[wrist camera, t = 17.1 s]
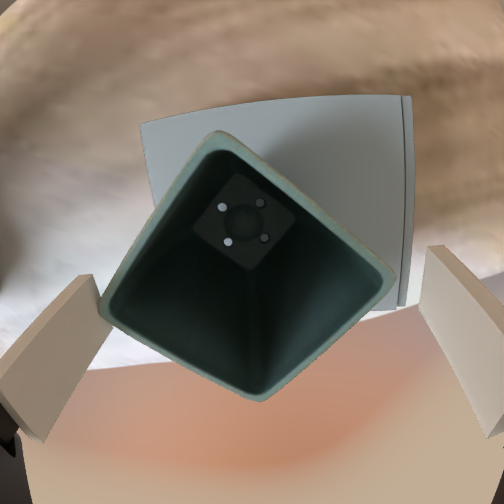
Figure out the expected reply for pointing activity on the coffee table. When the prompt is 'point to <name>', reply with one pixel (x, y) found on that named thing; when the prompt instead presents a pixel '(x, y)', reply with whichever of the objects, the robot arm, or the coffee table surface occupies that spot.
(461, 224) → the coffee table surface
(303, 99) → the lid
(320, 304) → the flower pot
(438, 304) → the robot arm
